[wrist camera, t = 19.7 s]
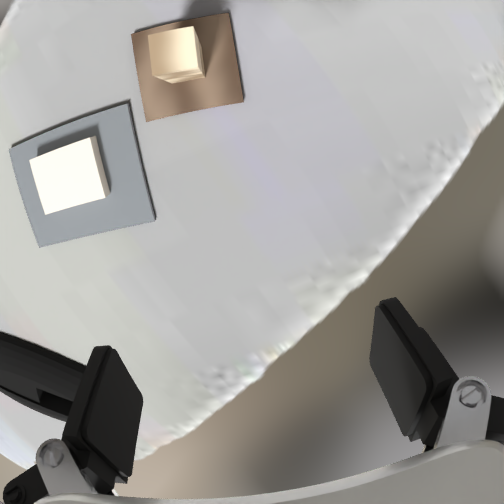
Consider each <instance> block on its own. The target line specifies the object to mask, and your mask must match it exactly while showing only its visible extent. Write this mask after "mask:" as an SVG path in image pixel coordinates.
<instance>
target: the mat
mask: <svg viewBox="0 0 504 504" xmlns="http://www.w3.org/2000/svg"><path fill="white" fill-rule="evenodd" d="M93 136H96V139H97V143H98V147H99V152H100V156H101V160H102V164H103V168H104V172H105V176H106V179H107V183H108V187H109V190H110V194H109V195H108V196H107V197H106V198H103V199H99V200H95V201H91V202H88V203H84V204H80V205H77V206H73V207H70V208H66V209H63V210H59V211H56V212H53V213H49V214H46V215H45V212H44V209H43V206H42V203H41V200H40V197H39V193H38V190H37V187H36V183H35V180H34V176H33V173H32V169H31V165H30V161H29V160H31V159H33V158H36V157H38V156H41V155H43V154H46V153H48V152H51V151H53V150H56V149H59V148H61V147H64V146H67V145H69V144H72V143H75V142H78V141H81V140H84V139H87V138H90V137H93ZM9 153H10V157H11V161H12V165H13V169H14V173H15V177H16V180H17V184H18V187H19V190H20V194H21V197H22V200H23V203H24V206H25V210H26V213H27V215H28V218H29V221H30V224H31V227H32V230H33V232H34V235H35V238H36V240H37V243H38V246H39V248H40V247H44V246H48V245H52V244H56V243H60V242H65V241H69V240H73V239H77V238H81V237H86V236H90V235H94V234H99V233H103V232H107V231H112V230H116V229H121V228H126V227H130V226H135V225H140V224H144V223H149V222H154V221H155V220H156V218H155V214H154V210H153V207H152V203H151V199H150V195H149V191H148V187H147V183H146V179H145V175H144V171H143V167H142V162H141V158H140V154H139V149H138V145H137V140H136V136H135V131H134V126H133V121H132V116H131V111H130V106H129V103H128V104H124V105H121V106H117V107H114V108H111V109H108V110H105V111H102V112H99V113H96V114H93V115H90V116H87V117H84V118H82V119H79V120H76V121H73V122H71V123H68V124H66V125H63V126H60V127H58V128H55V129H53V130H51V131H48V132H46V133H43V134H41V135H39V136H37V137H34V138H32V139H30V140H28V141H25V142H23V143H21V144H19V145H17V146H15V147H13V148H11V149H9Z"/></svg>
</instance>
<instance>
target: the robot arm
mask: <svg viewBox="0 0 504 504" xmlns="http://www.w3.org/2000/svg"><path fill="white" fill-rule="evenodd" d="M370 365H371V368H372V370H373V372H374V374H375V375H376V378H377V380H378V382H379V384H380V386H381V388H382V391H383V393H384V395H385V397H386V399H387V401H388V403H389V406H390V408H391V410H392V412H393V414H394V416H395V418H396V421H397V423H398V425H399V427H400V430H401V432H402V434H403V435H404V436H408V437H409V439H410V441H411V442H412V441H414V440H417V439H421V441H422V443H423V444H425V445H424V448H423V451H422V453H421V454H418V455H416V456H413V457H410V458H408V459H405V460H402V461H399V462H396V463H393V464H390V465H387V466H384V467H381V468H378V469H374V470H371V471H368V472H365V473H361V474H358V475H355V476H351V477H347V478H343V479H340V480H336V481H332V482H327V483H323V484H318V485H313V486H308V487H303V488H298V489H293V490H287V491H281V492H274V493H267V494H259V495H250V496H241V497H229V498H211V499H153V498H136V497H122V496H119V495H118V494H117V492H116V491H115V490H114V484H115V483H125V484H127V481H128V477H130V476H131V475H132V469H133V462H134V455H135V448H136V442H137V436H138V429H139V423H140V418H141V412H142V406H143V397H142V394H141V392H140V391H139V389H138V387H137V386H136V384H135V382H134V381H133V379H132V377H131V376H130V374H129V372H128V370H127V369H126V367H125V365H124V363H123V362H122V360H121V358H120V356H119V354H118V353H117V351H116V350H115V349H112V347H111V346H108V345H107V346H96V347H94V349H93V351H92V353H91V356H90V358H89V361H88V363H87V366H86V368H85V371H84V374H83V376H82V379H81V382H80V384H79V387H78V390H77V392H76V395H75V398H74V401H73V404H72V407H71V409H70V412H69V415H68V418H67V421H66V424H65V428H64V431H63V434H62V435H63V436H62V439H61V440H60V439H56V438H55V439H49V440H47V441H45V442H44V443H42V444H41V445H40V447H39V448H38V450H37V453H36V463H37V464H36V465H34V466H33V467H31V468H30V469H28V470H27V471H25V472H24V473H22V474H21V475H19V476H18V477H16V478H15V479H13V480H11V481H10V482H9V483H8V484H7V485H6V487H5V488H4V491H3V500H4V502H3V503H2V502H1V501H0V504H504V398H500V397H496V396H492V395H491V390H490V387H489V386H488V384H487V383H486V382H485V381H483V380H482V379H481V378H478V377H474V376H467V377H463V378H461V379H459V378H458V377H457V375H456V374H455V372H454V371H453V369H452V368H451V367H450V365H449V363H448V362H447V360H446V359H445V358H444V356H443V355H442V353H441V352H440V350H439V349H438V348H437V346H436V345H435V343H434V342H433V341H432V340H431V338H430V336H429V335H428V334H427V332H426V331H425V330H424V329H423V328H421V327H418V326H417V324H416V323H415V321H414V320H413V319H412V317H411V316H410V315H409V313H408V312H407V311H406V310H405V308H404V307H403V305H402V304H401V303H400V301H399V300H398V299H397V298H396V297H394V298H390V299H386V300H382V301H380V304H379V306H376V308H375V317H374V326H373V335H372V343H371V351H370Z"/></svg>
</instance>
